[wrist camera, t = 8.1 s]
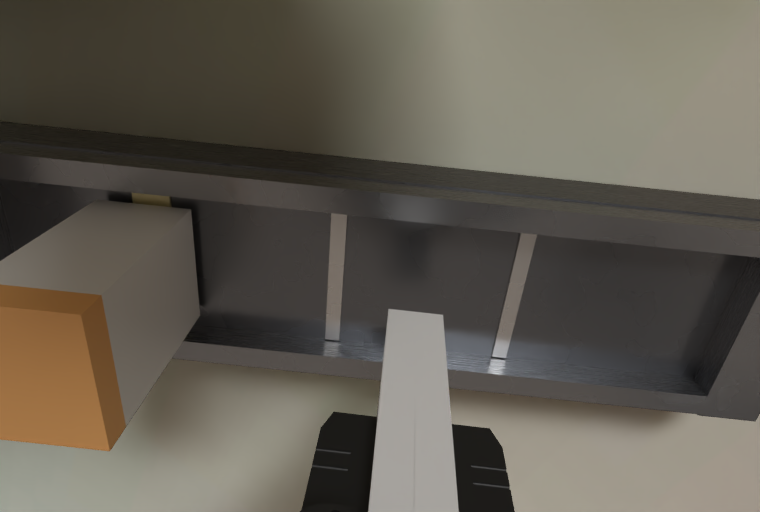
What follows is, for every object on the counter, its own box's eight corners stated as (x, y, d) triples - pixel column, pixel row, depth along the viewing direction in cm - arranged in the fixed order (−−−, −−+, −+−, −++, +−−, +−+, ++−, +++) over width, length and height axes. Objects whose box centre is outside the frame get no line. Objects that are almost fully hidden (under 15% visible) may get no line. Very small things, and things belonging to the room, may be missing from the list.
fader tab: (200, 315, 18) (109, 451, 12) (115, 306, 18) (-12, 437, 12) (191, 209, 16) (81, 314, 11) (96, 199, 16) (-61, 299, 11)
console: (710, 366, 20) (816, 496, 15) (19, 293, 21) (-119, 396, 15) (789, 202, 17) (959, 294, 12) (-29, 118, 17) (-223, 171, 12)
